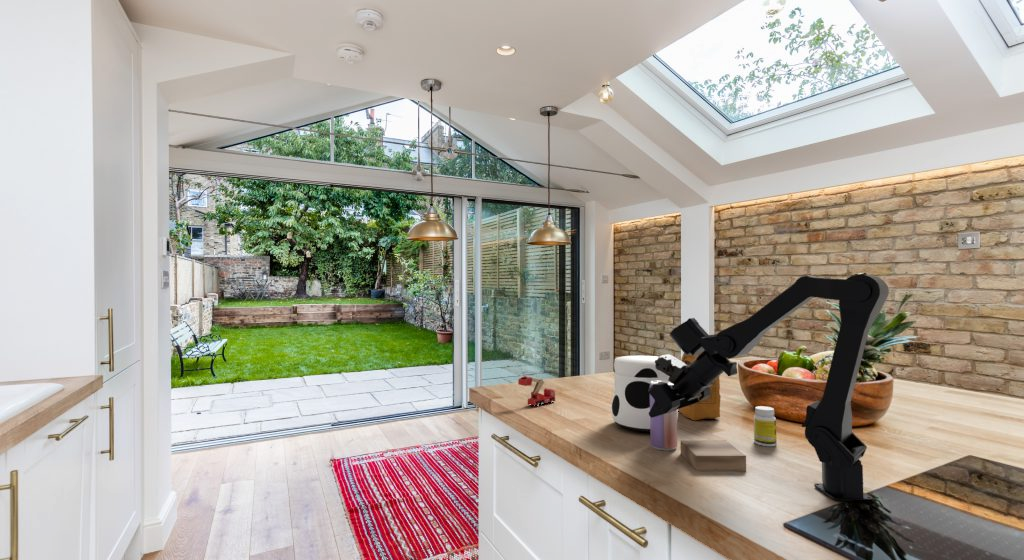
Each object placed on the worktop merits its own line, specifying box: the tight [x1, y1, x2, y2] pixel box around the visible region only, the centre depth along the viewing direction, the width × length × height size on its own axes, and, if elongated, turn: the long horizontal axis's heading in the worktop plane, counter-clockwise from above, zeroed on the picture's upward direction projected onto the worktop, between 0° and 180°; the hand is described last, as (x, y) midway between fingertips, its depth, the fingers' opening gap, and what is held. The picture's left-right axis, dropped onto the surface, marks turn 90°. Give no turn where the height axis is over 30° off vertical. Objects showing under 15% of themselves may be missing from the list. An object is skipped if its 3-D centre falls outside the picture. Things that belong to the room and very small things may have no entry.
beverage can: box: [649, 380, 678, 452], centre depth 112 cm, size 6×6×15 cm
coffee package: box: [678, 350, 721, 421], centre depth 139 cm, size 10×12×22 cm
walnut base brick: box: [680, 439, 747, 472], centre depth 103 cm, size 10×10×3 cm
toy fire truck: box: [517, 375, 556, 405], centre depth 154 cm, size 3×14×10 cm, turn 130°
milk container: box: [610, 355, 679, 433], centre depth 129 cm, size 17×17×18 cm
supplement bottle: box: [753, 405, 777, 447], centre depth 114 cm, size 5×5×8 cm
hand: (657, 413), depth 113 cm, fingers open, 6 cm apart
